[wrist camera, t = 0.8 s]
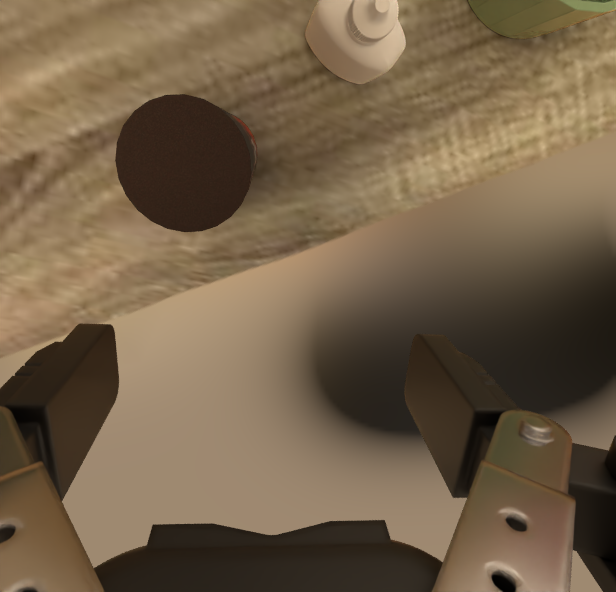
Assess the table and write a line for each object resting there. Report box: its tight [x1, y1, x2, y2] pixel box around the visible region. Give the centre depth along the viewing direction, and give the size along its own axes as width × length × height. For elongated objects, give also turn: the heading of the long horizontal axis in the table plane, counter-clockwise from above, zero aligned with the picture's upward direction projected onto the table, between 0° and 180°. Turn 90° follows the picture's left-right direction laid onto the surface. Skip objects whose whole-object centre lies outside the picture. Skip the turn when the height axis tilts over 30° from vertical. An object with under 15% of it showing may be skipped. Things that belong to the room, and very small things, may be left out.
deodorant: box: [115, 94, 257, 232], centre depth 27 cm, size 6×6×15 cm
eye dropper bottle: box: [305, 0, 406, 84], centre depth 26 cm, size 4×6×12 cm
